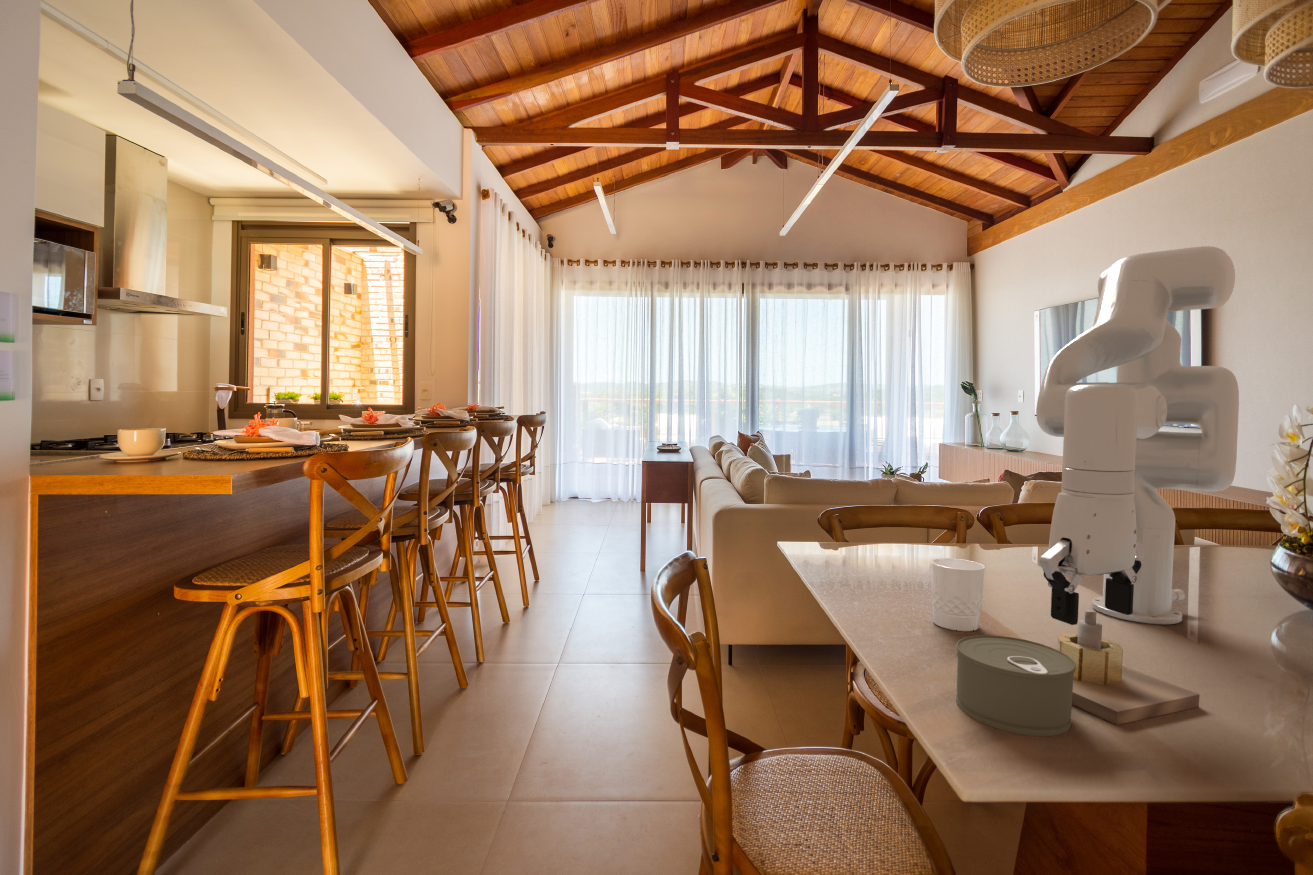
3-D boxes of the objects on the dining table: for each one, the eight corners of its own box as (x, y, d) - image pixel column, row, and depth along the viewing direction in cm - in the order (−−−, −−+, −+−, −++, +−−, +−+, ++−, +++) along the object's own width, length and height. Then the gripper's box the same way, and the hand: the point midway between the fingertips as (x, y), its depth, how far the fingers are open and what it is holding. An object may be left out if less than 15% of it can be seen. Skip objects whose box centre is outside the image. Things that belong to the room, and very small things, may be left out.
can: (1034, 690, 81) (1036, 635, 80) (1098, 739, 69) (1101, 675, 68) (937, 687, 81) (939, 633, 80) (984, 736, 69) (986, 673, 69)
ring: (1081, 660, 86) (1083, 631, 86) (1132, 680, 80) (1134, 648, 80) (1045, 666, 84) (1046, 636, 84) (1094, 687, 78) (1096, 654, 78)
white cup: (989, 635, 100) (991, 571, 100) (934, 630, 102) (937, 567, 101) (974, 618, 108) (977, 559, 107) (924, 615, 109) (926, 556, 109)
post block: (1064, 654, 92) (1067, 588, 92) (1198, 706, 76) (1203, 627, 76) (989, 666, 88) (992, 597, 87) (1116, 724, 72) (1120, 640, 71)
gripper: (1115, 475, 87) (1109, 599, 89) (1019, 482, 82) (1015, 615, 83) (1175, 482, 80) (1169, 617, 82) (1076, 491, 74) (1070, 635, 76)
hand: (1091, 616), depth 82 cm, fingers open, 9 cm apart
